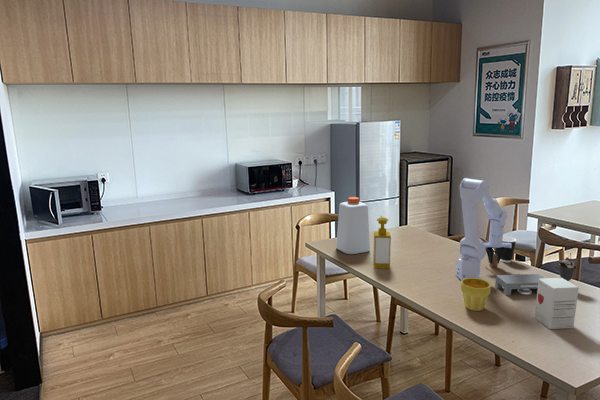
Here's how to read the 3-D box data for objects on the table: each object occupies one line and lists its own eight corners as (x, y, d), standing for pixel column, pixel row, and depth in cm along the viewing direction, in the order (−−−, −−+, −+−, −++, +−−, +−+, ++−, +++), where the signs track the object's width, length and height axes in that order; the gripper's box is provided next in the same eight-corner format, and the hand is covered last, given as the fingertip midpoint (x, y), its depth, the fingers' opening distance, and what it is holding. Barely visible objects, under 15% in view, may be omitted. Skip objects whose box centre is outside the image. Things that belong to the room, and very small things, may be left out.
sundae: (571, 286, 187) (575, 252, 184) (575, 293, 181) (580, 257, 178) (553, 284, 189) (557, 250, 186) (557, 291, 183) (561, 255, 180)
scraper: (509, 286, 188) (510, 270, 187) (485, 267, 210) (486, 253, 208) (523, 285, 189) (524, 270, 187) (497, 267, 210) (499, 253, 209)
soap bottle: (387, 259, 223) (388, 212, 218) (389, 268, 211) (391, 219, 206) (372, 258, 224) (373, 212, 219) (374, 267, 211) (375, 219, 206)
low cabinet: (506, 296, 179) (507, 284, 178) (495, 286, 188) (496, 275, 187) (550, 294, 180) (551, 282, 179) (537, 285, 189) (538, 274, 188)
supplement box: (533, 317, 161) (537, 277, 158) (557, 316, 161) (561, 276, 158) (549, 329, 152) (554, 288, 149) (574, 328, 153) (579, 286, 150)
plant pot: (471, 315, 163) (473, 289, 161) (453, 303, 173) (455, 279, 171) (495, 311, 166) (497, 286, 164) (477, 299, 176) (478, 276, 174)
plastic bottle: (333, 247, 242) (333, 196, 236) (357, 244, 248) (358, 194, 242) (347, 256, 228) (348, 202, 223) (372, 251, 234) (374, 199, 229)
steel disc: (521, 295, 180) (521, 292, 180) (515, 290, 185) (515, 287, 184) (533, 295, 180) (534, 292, 180) (527, 290, 185) (527, 287, 185)
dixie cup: (518, 261, 218) (520, 239, 216) (508, 264, 214) (510, 242, 211) (502, 257, 224) (504, 235, 222) (493, 260, 220) (495, 238, 218)
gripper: (507, 231, 209) (504, 259, 212) (476, 232, 209) (474, 260, 211) (515, 236, 202) (512, 264, 205) (483, 236, 202) (481, 265, 204)
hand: (493, 262), depth 208 cm, fingers closed on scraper, 2 cm apart
